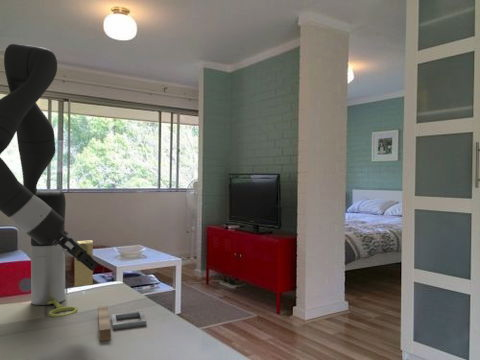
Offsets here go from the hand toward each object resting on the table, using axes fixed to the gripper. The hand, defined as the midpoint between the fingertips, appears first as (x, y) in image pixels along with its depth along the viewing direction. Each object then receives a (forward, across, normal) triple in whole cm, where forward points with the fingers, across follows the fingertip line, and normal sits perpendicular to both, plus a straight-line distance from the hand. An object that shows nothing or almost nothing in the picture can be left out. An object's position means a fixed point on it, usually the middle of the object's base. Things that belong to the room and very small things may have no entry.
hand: (91, 264), depth 99 cm
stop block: (+2, 0, +4) cm, 5 cm away
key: (+9, +20, +14) cm, 26 cm away
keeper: (+17, 0, +5) cm, 18 cm away
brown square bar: (+13, 0, +9) cm, 16 cm away
